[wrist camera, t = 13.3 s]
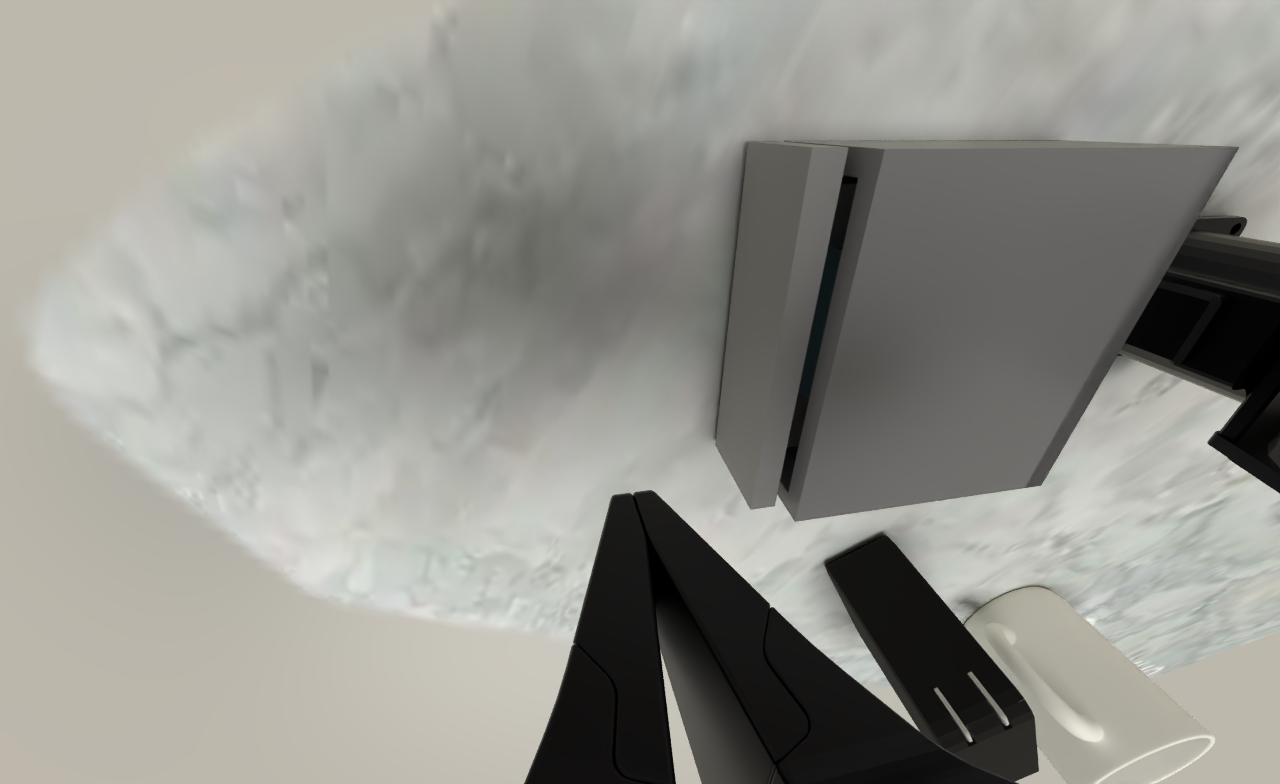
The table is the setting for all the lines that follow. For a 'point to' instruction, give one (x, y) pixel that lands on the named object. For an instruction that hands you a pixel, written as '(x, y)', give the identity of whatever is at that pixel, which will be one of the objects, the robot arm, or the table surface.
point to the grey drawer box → (981, 310)
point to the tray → (776, 304)
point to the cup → (1086, 693)
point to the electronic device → (935, 662)
